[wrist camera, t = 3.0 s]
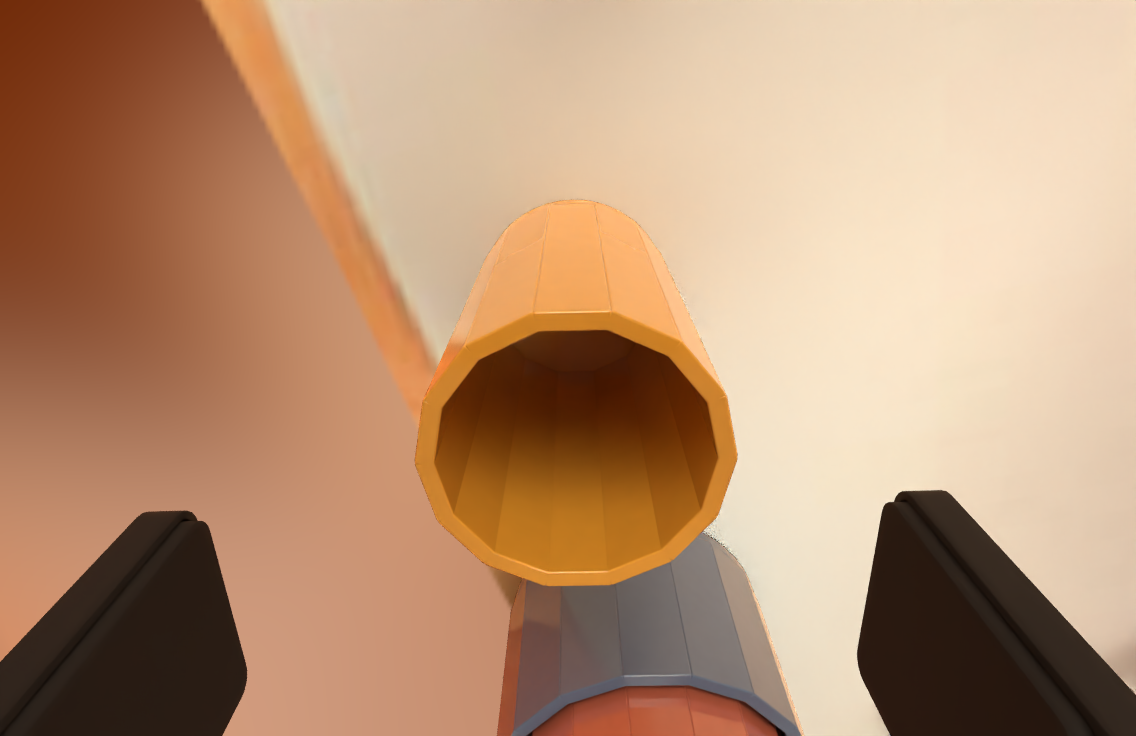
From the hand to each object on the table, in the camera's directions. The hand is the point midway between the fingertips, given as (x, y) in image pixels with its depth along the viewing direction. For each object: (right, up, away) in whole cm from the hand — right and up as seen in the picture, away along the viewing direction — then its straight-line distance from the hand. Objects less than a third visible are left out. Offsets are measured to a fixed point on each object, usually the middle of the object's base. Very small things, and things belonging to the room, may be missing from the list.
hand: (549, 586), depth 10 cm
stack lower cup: (+3, -6, +17) cm, 18 cm away
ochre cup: (0, +5, +12) cm, 13 cm away
